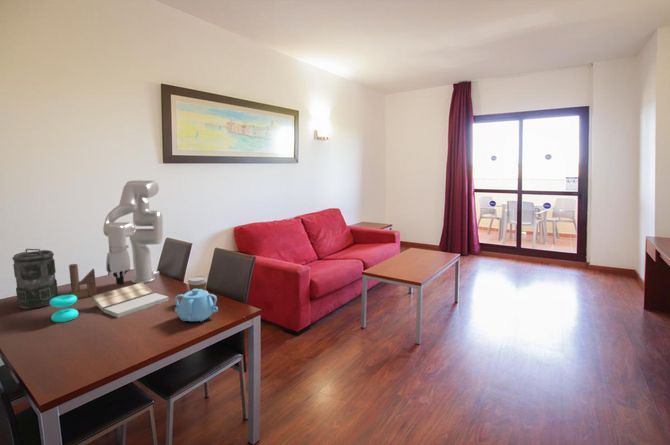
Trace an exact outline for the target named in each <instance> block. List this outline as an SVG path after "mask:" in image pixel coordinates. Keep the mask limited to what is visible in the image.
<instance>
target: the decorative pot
mask: <svg viewBox="0 0 670 445" xmlns="http://www.w3.org/2000/svg"><path fill="white" fill-rule="evenodd" d="M178 298H181V300H180V302H179V299H178ZM217 298H218V297H217V295H215V294H213V293H209V292H208V290H207V289H206V290H203V289H193V290H192V291H190V290H189V291H187V292H185V293H184V294H183V293H181V294H177V295H176V296H175V297H174V303H175V308H174V312H175V313H177V316H178V317H179V319H180V320H181V321H183V322H184V321H189V322H199V321H200V323H201V322H202V321H203V322H205V321H206V320H207V319H208V318H210V317H211V316H212V314H213V313H217V312H218V311H219V308H218V306H216V304H217V301H218V299H217ZM213 299H214V300H213ZM204 320H205V321H204Z"/></svg>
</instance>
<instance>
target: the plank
mask: <svg viewBox="0 0 670 445" xmlns="http://www.w3.org/2000/svg"><path fill="white" fill-rule="evenodd" d="M151 292H154V291H153V290H152V289H151V288H149V286H148V285H146V283H143V282H142V283H134V284H131V285H128V286H124V287H121V288H118V289H114V290H110V291H106V292H103V293H99V294H97V295H95V296H91V301H92V302H93V303H94V304H95V305H96V306H97V308H99V309H100V311H101V312H104V309H103V307H106V306H109V305H112V304H115V303H119V302H122V301H125V300H128V299H132V298H135V297H138V296H142V295H145V294H148V293H151Z"/></svg>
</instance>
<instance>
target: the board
mask: <svg viewBox="0 0 670 445" xmlns="http://www.w3.org/2000/svg"><path fill="white" fill-rule="evenodd" d="M168 300H169V301H170V299H169V296H168V295H163V294H160V293H157V292H156V291H153V292H151V293H148V294H145V295H142V296H138V297H135V298H132V299H128V300H125V301H122V302H119V303H115V304H112V305H109V306H106V307H103V309H104V311H103V313H104V314H108V315H110V316H113V317H115V318H121V317H124V316H127V315H130V314H133V313H137V312H139V311H143V310H145V309H147V308H150V307H154V306H157V305H160V304H163V303H165V301H166V302H168ZM162 302H163V303H162Z"/></svg>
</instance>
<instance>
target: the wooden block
mask: <svg viewBox="0 0 670 445" xmlns="http://www.w3.org/2000/svg"><path fill="white" fill-rule="evenodd" d="M78 266H79V265H78V264H77V263H72V264H68V269H69V278H70V280H69V281H70V287H71V288H70V289H71V290H70V295H75V296H76V297H77V300H78V299H83V298H88V297H92V296H95V295H98V294H97V284H96V274H95V271H96V270H95V269H94V268H92V269H91V270H89V272H87V274H86V275H85V276H84V278H82V279H81V280H80V277H79V268H78ZM82 285H86V288H87V289H81V288H80V287H81V286H82Z"/></svg>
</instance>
